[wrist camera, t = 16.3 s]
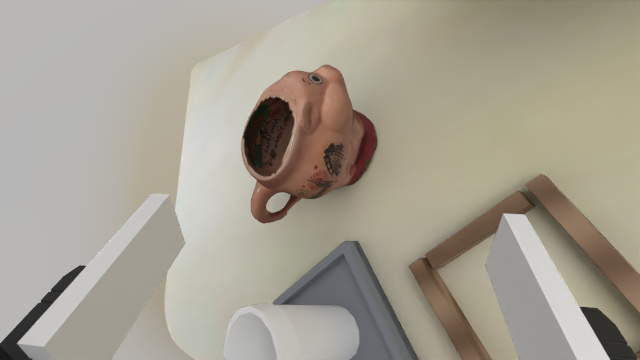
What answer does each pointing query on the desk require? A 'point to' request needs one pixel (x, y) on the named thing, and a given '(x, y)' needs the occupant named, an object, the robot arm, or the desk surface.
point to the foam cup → (291, 333)
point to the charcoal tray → (354, 302)
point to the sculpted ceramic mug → (305, 140)
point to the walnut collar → (571, 219)
